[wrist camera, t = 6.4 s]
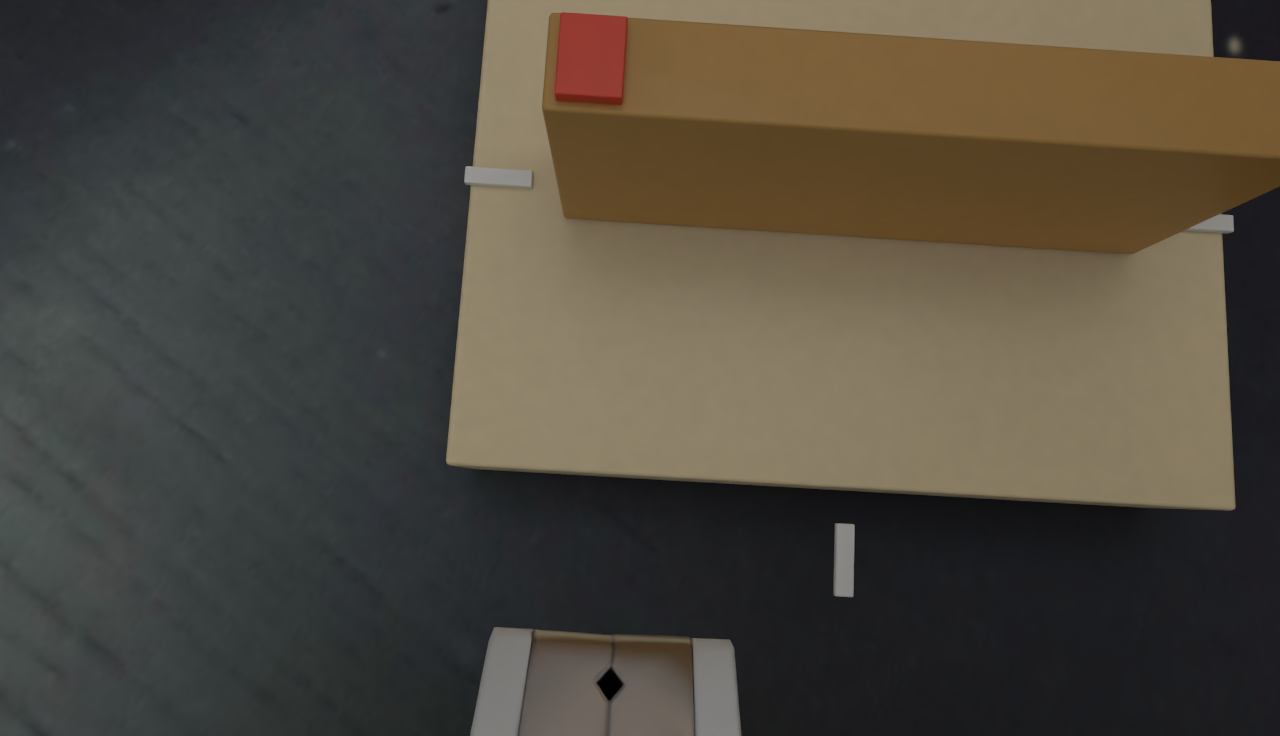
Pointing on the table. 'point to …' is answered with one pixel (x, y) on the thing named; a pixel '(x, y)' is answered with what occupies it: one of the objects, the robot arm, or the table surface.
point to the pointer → (901, 134)
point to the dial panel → (834, 314)
